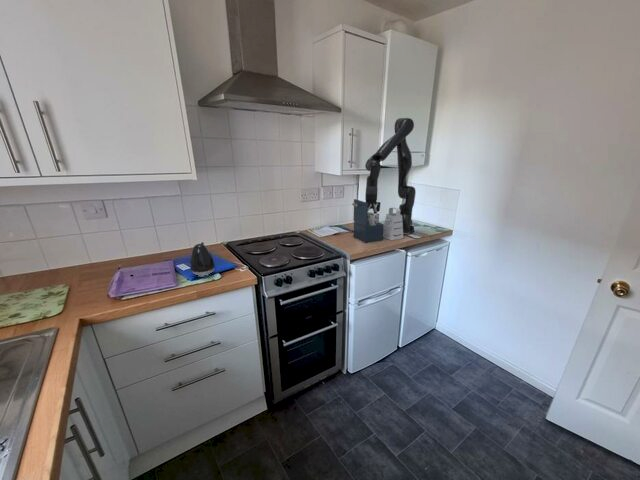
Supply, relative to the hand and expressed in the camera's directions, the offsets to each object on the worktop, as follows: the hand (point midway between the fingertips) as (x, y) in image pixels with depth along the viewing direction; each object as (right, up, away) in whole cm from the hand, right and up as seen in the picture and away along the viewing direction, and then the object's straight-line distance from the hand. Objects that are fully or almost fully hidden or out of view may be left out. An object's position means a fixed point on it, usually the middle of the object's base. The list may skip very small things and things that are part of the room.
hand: (370, 218), depth 196 cm
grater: (+16, -12, +9) cm, 22 cm away
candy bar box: (0, -12, +5) cm, 13 cm away
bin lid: (-6, +3, -5) cm, 9 cm away
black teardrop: (-82, -35, -56) cm, 105 cm away
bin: (-1, -13, +5) cm, 14 cm away
